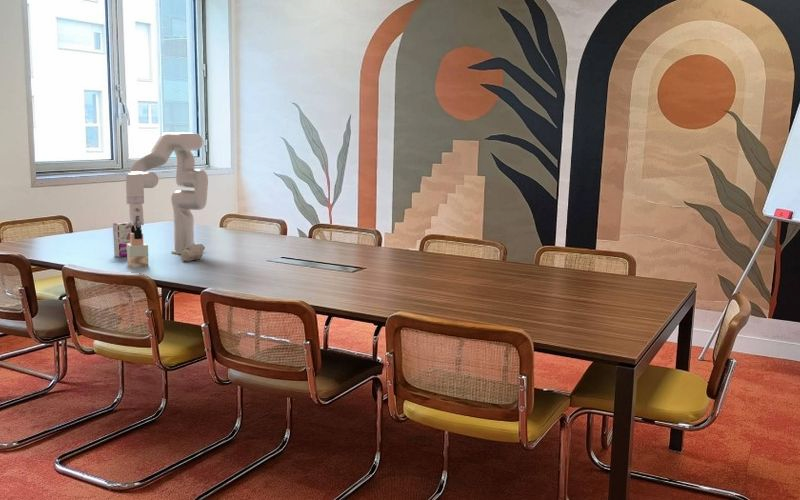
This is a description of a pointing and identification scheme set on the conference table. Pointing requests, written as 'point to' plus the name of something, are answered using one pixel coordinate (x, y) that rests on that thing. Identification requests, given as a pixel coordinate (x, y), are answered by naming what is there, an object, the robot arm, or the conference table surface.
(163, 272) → the conference table surface
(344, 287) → the conference table surface
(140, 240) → the terracotta cube
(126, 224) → the candy bar box
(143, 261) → the tower bottom
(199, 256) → the fossil replica
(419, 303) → the conference table surface
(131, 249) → the tower top
